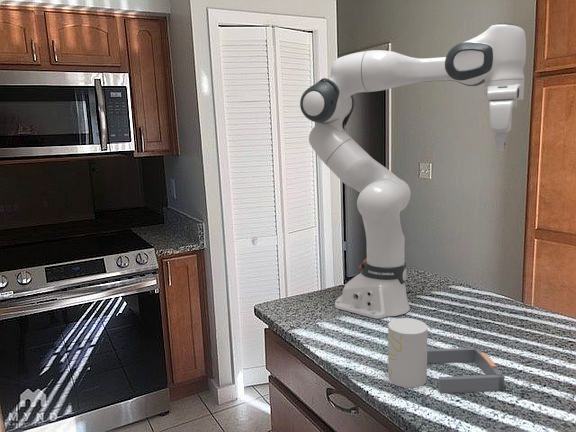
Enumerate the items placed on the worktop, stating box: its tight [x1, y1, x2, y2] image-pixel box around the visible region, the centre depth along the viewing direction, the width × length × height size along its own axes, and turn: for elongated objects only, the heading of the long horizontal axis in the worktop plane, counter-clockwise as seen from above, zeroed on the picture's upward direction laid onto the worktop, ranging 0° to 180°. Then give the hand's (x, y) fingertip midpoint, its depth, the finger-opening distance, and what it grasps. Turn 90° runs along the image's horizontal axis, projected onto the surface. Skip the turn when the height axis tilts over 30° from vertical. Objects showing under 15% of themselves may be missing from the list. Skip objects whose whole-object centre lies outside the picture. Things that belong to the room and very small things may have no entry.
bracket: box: [427, 347, 506, 394], centre depth 99 cm, size 13×13×4 cm
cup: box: [387, 317, 429, 389], centre depth 98 cm, size 8×8×12 cm
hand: (500, 150), depth 114 cm, fingers open, 8 cm apart
